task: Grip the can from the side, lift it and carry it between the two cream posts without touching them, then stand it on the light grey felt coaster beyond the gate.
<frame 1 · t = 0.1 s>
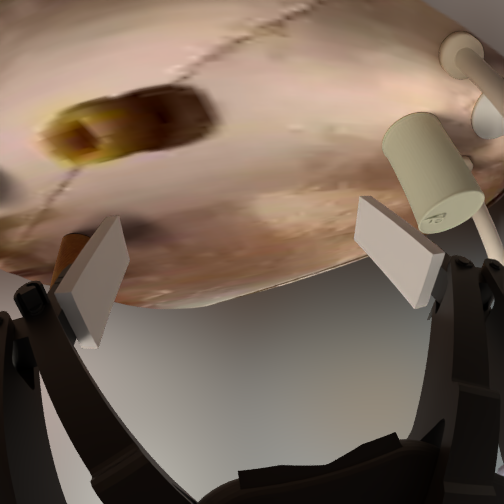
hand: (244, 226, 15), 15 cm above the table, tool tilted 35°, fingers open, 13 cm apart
disposable coffee cup: (78, 241, 42), on the table
can: (411, 136, 30), on the table
coaster: (500, 109, 23), on the table
gate: (460, 121, 26), on the table
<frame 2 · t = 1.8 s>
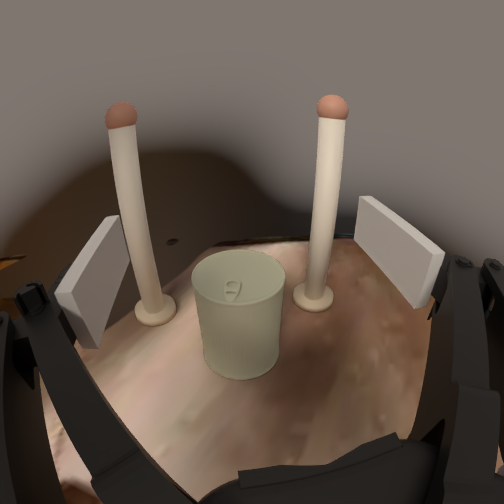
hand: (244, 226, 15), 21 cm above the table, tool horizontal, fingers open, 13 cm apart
can: (241, 350, 34), on the table
gate: (235, 306, 40), on the table
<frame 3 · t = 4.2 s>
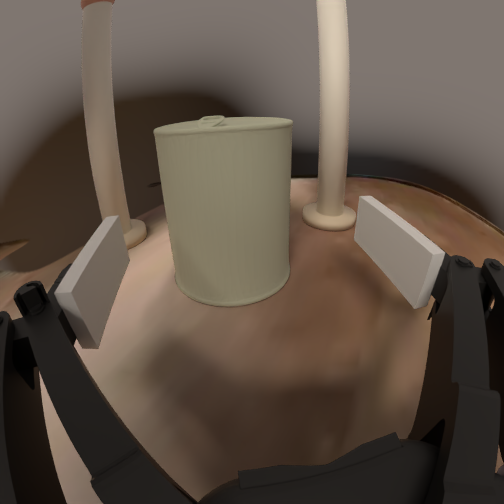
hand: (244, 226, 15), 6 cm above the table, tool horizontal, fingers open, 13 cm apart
can: (232, 272, 23), on the table
gate: (225, 227, 30), on the table
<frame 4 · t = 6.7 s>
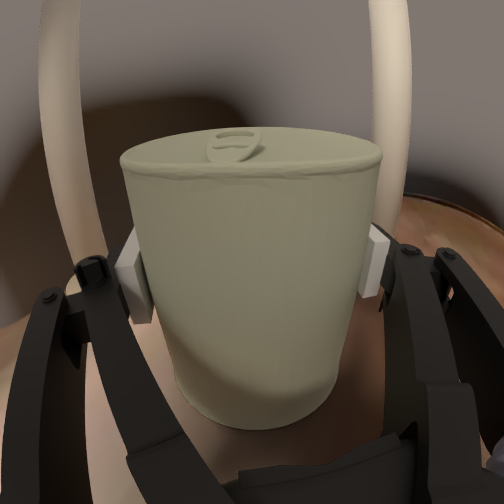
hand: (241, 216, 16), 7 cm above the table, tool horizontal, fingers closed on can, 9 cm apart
can: (256, 360, 15), on the table, touching gripper
gate: (240, 278, 22), on the table
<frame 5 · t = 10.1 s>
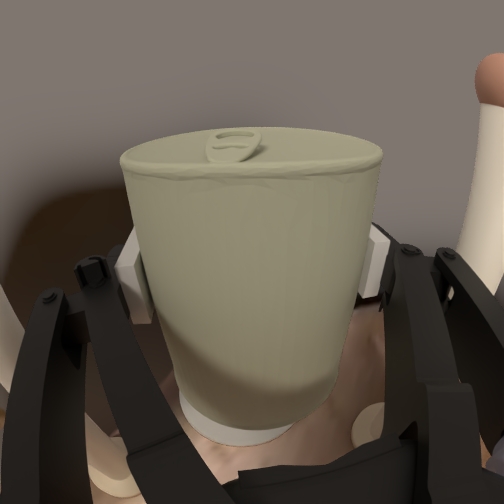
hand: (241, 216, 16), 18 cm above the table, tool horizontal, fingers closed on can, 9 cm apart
can: (256, 361, 15), point 11 cm above the table, touching gripper
coaster: (241, 392, 25), on the table
gate: (255, 466, 18), on the table
when the fingers open (9 cm above the table, at t = 13.7 s): can drops 1 cm, resting on coaster.
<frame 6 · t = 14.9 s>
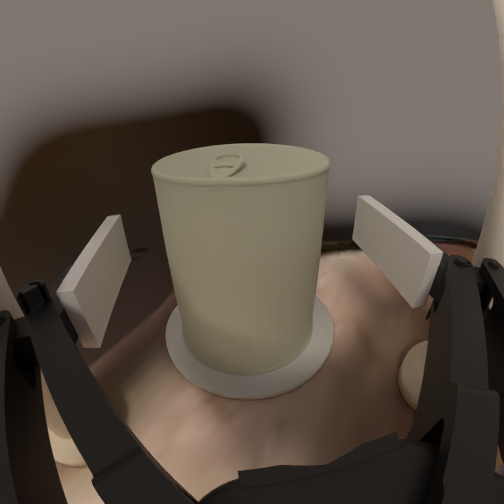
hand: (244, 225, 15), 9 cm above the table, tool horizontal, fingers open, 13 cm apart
can: (247, 325, 20), resting on coaster
coaster: (249, 329, 20), on the table
gate: (266, 428, 13), on the table
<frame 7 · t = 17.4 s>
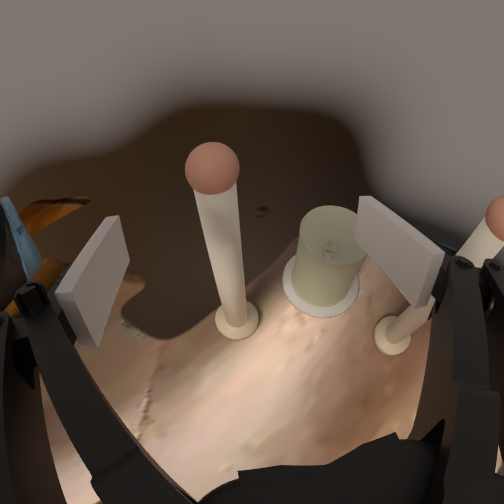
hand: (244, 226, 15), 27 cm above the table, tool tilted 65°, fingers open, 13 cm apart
can: (320, 280, 43), resting on coaster
coaster: (320, 281, 43), on the table
gate: (317, 330, 39), on the table
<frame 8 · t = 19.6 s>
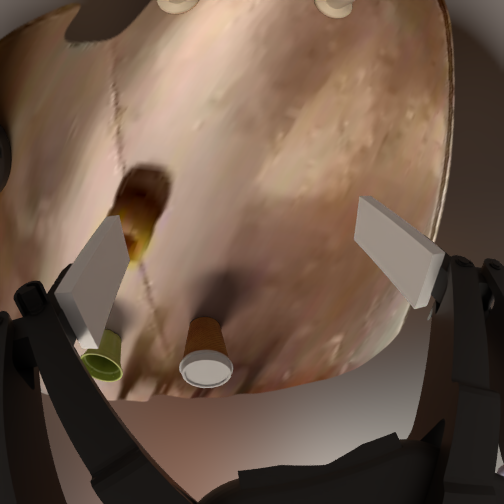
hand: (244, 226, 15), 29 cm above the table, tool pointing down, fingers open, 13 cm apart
disposable coffee cup: (204, 327, 56), on the table
plant pot: (108, 338, 55), on the table
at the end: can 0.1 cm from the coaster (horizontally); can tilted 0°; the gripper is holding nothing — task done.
